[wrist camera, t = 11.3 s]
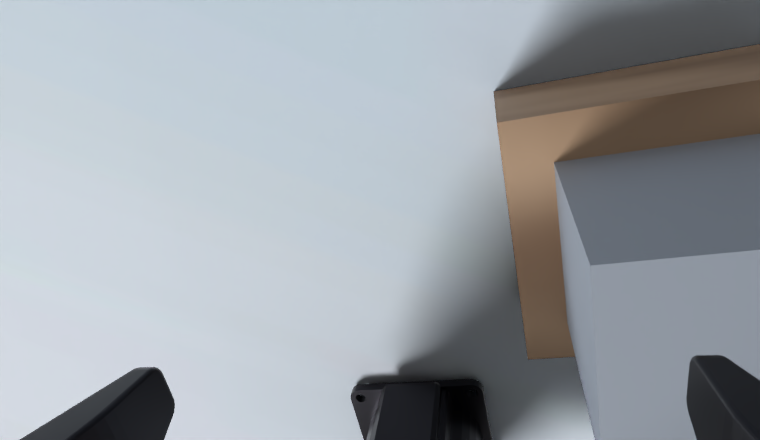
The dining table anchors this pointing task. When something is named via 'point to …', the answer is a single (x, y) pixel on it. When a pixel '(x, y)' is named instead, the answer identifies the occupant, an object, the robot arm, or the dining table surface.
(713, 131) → the walnut block
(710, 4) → the dining table surface
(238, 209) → the dining table surface
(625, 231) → the slate cube
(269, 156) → the dining table surface
